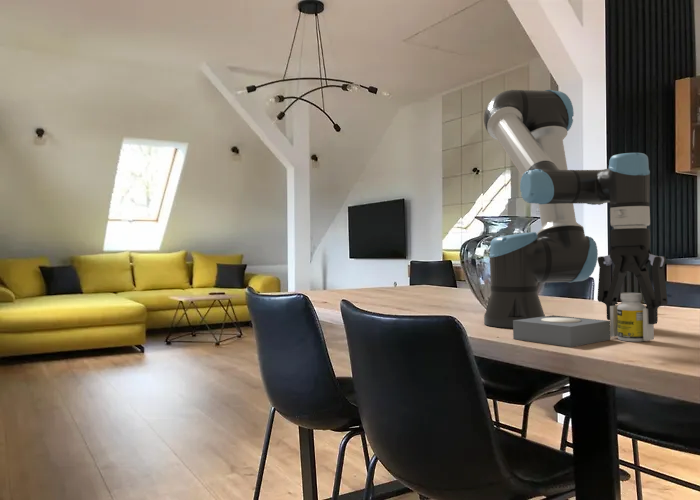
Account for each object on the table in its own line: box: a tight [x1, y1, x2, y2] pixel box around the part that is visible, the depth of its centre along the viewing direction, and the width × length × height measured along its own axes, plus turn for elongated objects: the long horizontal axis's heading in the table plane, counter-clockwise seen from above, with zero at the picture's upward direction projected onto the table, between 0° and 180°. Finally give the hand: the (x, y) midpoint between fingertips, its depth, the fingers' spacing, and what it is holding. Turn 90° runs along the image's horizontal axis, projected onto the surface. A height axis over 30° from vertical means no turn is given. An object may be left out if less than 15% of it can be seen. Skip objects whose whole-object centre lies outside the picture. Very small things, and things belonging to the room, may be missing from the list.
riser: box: [512, 315, 611, 348], centre depth 126 cm, size 14×14×4 cm
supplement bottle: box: [617, 292, 646, 343], centre depth 123 cm, size 5×5×10 cm
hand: (631, 337), depth 123 cm, fingers open, 6 cm apart
